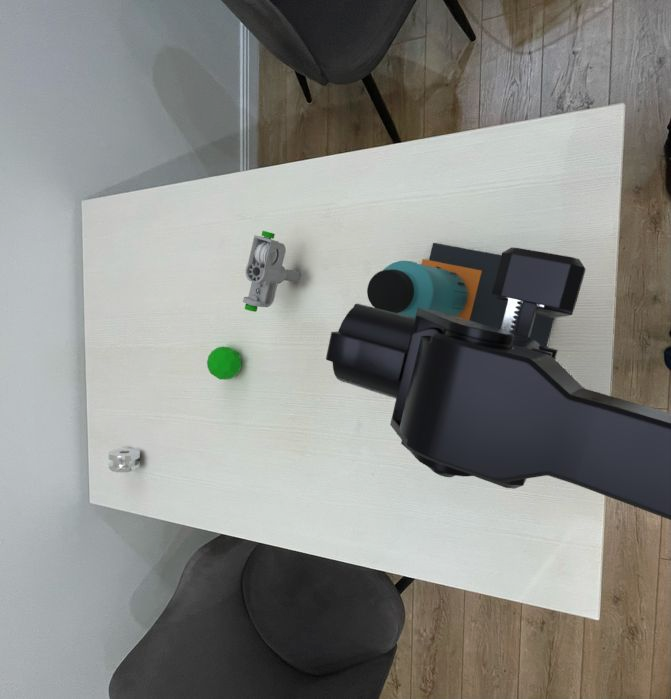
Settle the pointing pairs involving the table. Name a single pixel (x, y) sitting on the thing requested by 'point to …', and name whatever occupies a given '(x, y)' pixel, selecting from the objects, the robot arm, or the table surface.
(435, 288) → the beverage bottle
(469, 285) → the pad
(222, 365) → the polyhedron
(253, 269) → the mechanical component
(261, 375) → the table surface
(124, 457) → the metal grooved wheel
